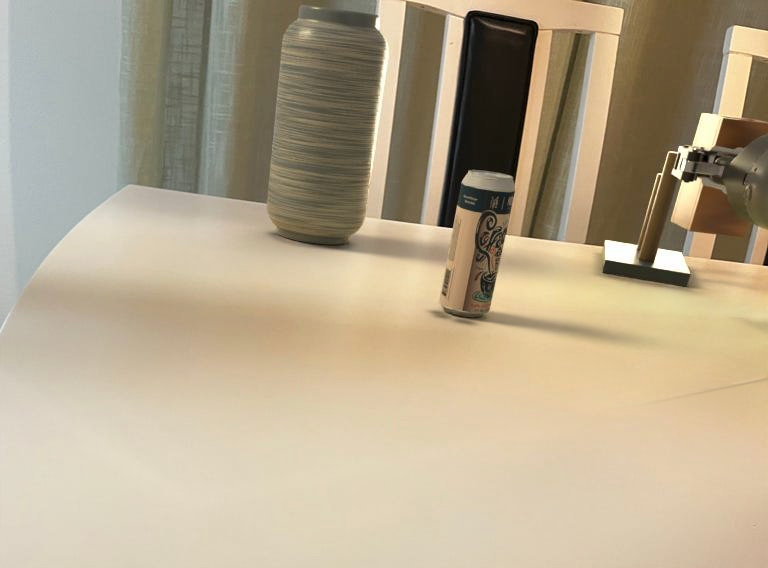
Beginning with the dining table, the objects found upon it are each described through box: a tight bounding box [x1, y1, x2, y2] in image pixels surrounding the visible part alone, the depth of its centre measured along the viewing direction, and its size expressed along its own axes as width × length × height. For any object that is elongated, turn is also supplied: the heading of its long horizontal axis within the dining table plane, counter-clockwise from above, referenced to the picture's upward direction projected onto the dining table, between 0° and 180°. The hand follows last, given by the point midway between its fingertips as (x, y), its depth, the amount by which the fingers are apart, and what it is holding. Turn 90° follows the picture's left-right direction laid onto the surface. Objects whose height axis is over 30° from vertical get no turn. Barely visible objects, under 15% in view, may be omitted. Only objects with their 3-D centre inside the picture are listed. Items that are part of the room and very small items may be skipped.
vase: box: [266, 4, 390, 246], centre depth 113 cm, size 12×12×23 cm
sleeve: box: [670, 112, 768, 239], centre depth 99 cm, size 6×6×10 cm
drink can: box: [438, 169, 516, 318], centre depth 92 cm, size 5×5×12 cm
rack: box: [601, 151, 692, 287], centre depth 123 cm, size 10×16×14 cm, turn 165°
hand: (716, 161), depth 100 cm, fingers closed on sleeve, 5 cm apart
